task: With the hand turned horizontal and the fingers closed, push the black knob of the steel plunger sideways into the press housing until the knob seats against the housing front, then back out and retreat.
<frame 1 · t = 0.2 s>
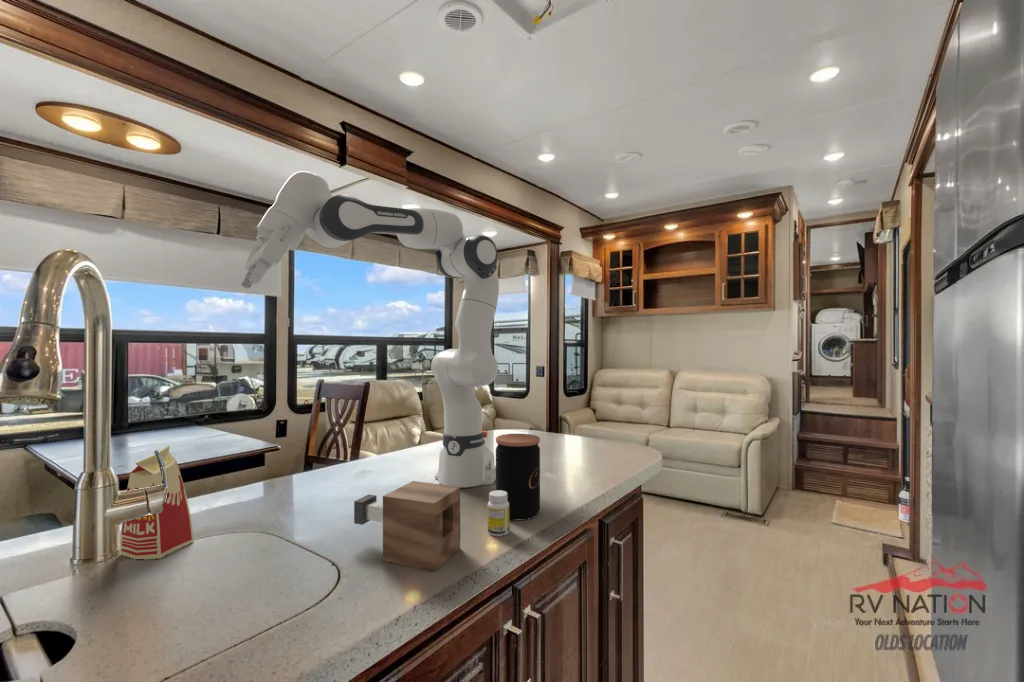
hand: (248, 284, 99), 53 cm above the worktop, tool tilted 25°, fingers open, 8 cm apart
milk carton: (156, 550, 91), on the worktop
plunger: (386, 512, 91), point 7 cm above the worktop, slide at 0.0 cm
press housing: (422, 554, 88), on the worktop
coffee jar: (518, 513, 110), on the worktop
supplement bottle: (498, 533, 99), on the worktop
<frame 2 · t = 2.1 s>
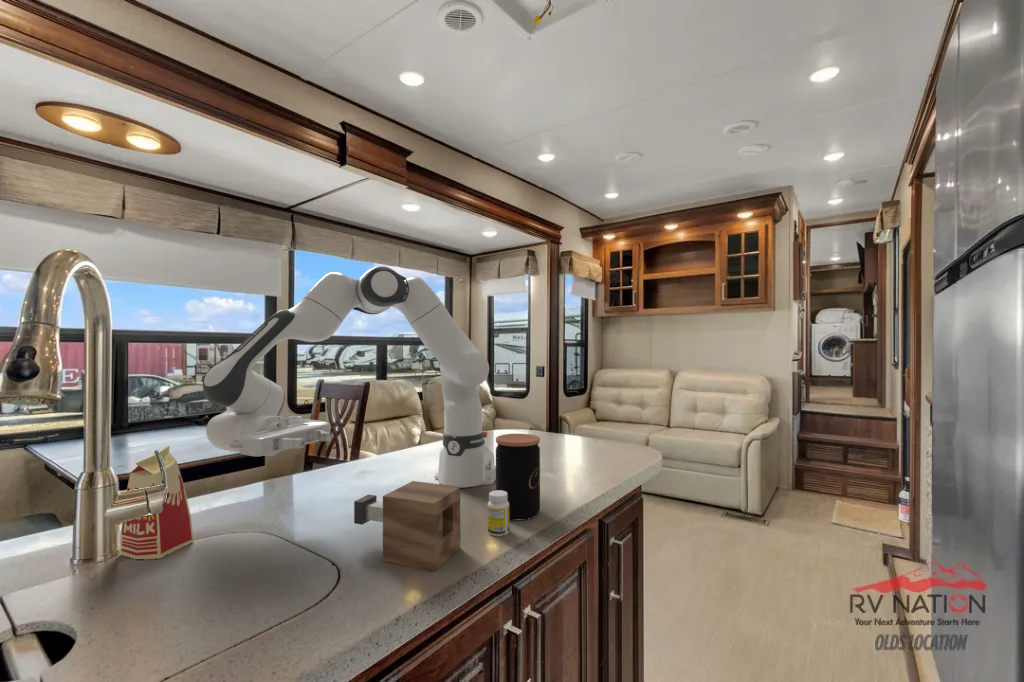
hand: (315, 440, 98), 20 cm above the worktop, tool horizontal, fingers open, 6 cm apart
nothing on the worktop moved.
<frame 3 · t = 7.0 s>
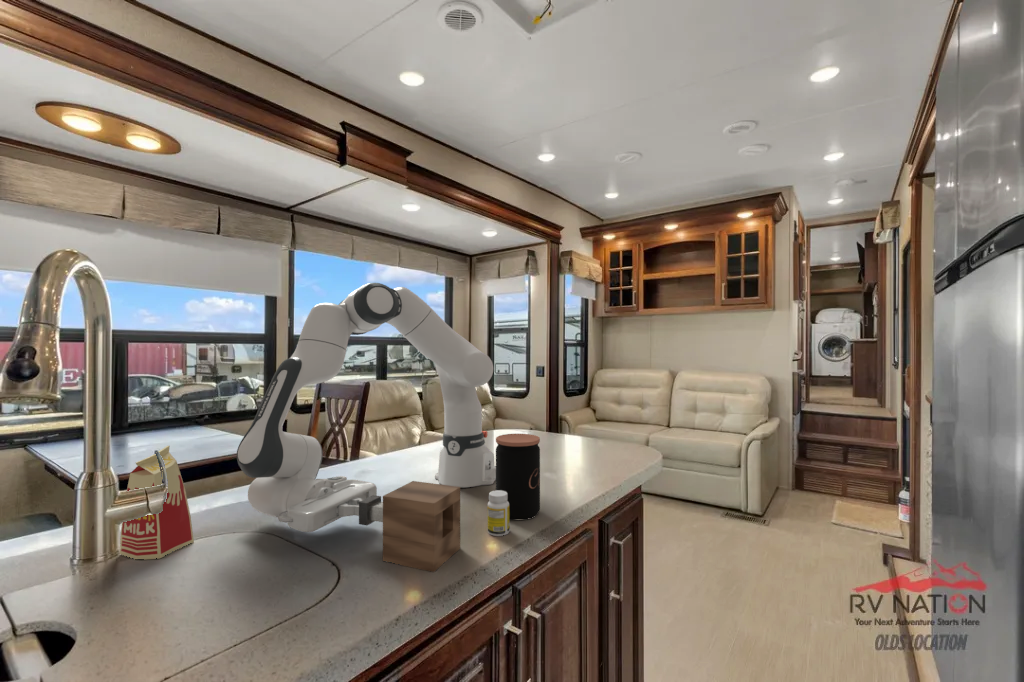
hand: (366, 509, 93), 7 cm above the worktop, tool horizontal, fingers closed, pressing on plunger
plunger: (390, 513, 91), point 7 cm above the worktop, slide at 1.2 cm, touching gripper
everything else where it was.
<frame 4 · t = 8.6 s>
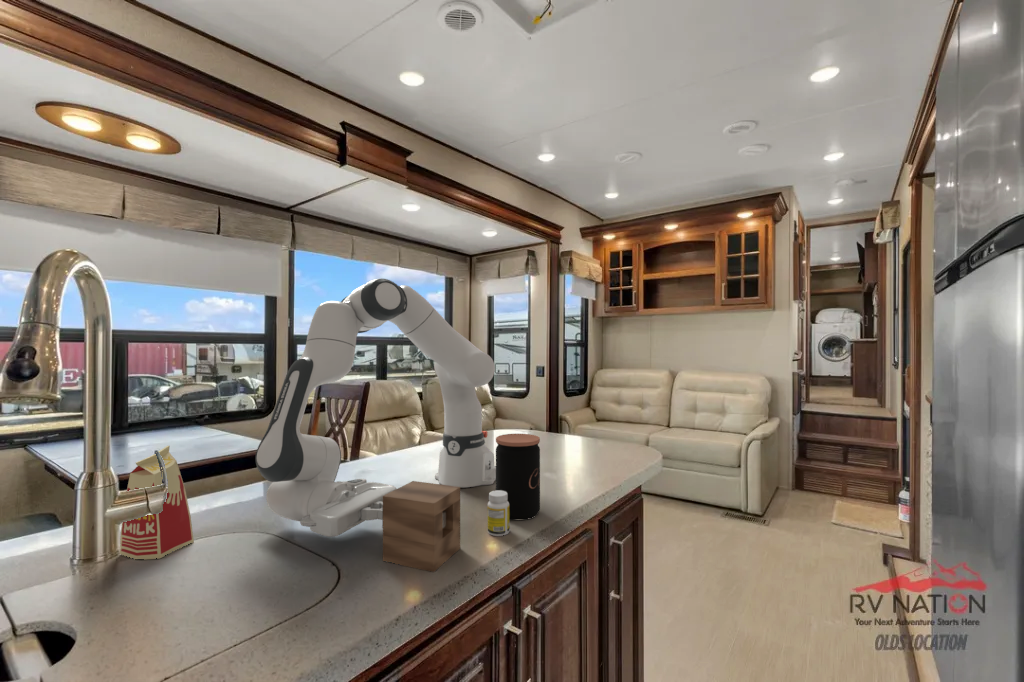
hand: (389, 513, 91), 7 cm above the worktop, tool horizontal, fingers closed, pressing on plunger
plunger: (415, 517, 89), point 7 cm above the worktop, slide at 6.8 cm, touching gripper
everything else where it was.
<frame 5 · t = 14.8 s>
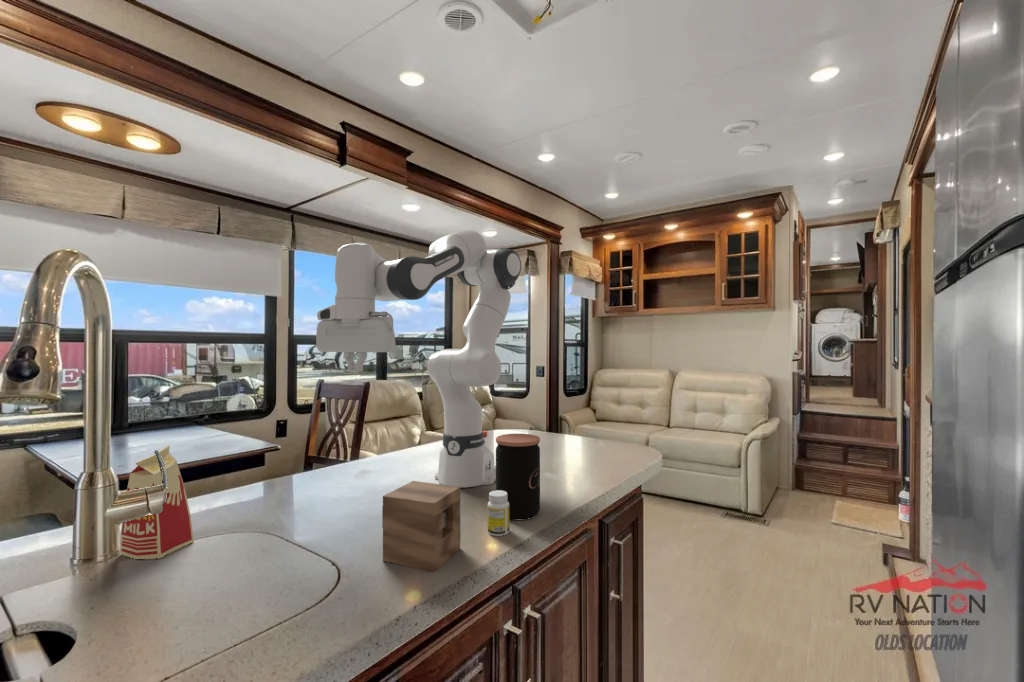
hand: (355, 371, 106), 34 cm above the worktop, tool pointing down, fingers closed
plunger: (415, 517, 89), point 7 cm above the worktop, slide at 6.8 cm
everything else where it was.
at the end: plunger slide at 6.8 cm; the gripper is holding nothing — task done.
